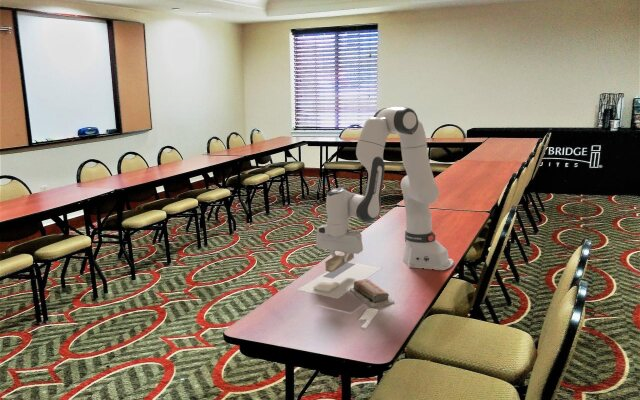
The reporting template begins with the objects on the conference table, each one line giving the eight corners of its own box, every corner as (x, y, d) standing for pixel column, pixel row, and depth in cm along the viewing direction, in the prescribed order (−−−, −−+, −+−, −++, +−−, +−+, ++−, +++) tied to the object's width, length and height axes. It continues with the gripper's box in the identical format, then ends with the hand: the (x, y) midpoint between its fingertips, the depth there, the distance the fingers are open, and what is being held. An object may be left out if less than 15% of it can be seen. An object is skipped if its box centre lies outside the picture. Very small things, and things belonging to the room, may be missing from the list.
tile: (339, 283, 209) (328, 289, 203) (339, 286, 210) (328, 292, 203) (324, 280, 213) (313, 286, 206) (324, 282, 213) (313, 289, 207)
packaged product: (348, 280, 204) (371, 276, 208) (348, 292, 205) (371, 287, 209) (370, 297, 188) (394, 292, 192) (371, 309, 189) (394, 304, 193)
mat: (381, 268, 228) (381, 267, 228) (337, 299, 197) (337, 298, 197) (344, 262, 239) (344, 261, 238) (296, 290, 207) (296, 289, 207)
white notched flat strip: (351, 327, 175) (351, 324, 175) (365, 310, 189) (365, 307, 189) (366, 329, 173) (365, 326, 173) (379, 311, 187) (378, 308, 187)
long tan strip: (353, 258, 221) (353, 249, 220) (332, 272, 207) (331, 262, 206) (347, 257, 223) (347, 248, 222) (325, 271, 208) (325, 261, 207)
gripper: (364, 229, 208) (366, 261, 212) (321, 224, 219) (323, 255, 222) (357, 233, 203) (358, 266, 206) (313, 228, 214) (315, 260, 217)
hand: (340, 260), depth 214 cm, fingers closed on long tan strip, 3 cm apart
